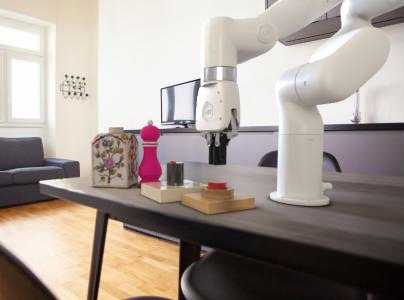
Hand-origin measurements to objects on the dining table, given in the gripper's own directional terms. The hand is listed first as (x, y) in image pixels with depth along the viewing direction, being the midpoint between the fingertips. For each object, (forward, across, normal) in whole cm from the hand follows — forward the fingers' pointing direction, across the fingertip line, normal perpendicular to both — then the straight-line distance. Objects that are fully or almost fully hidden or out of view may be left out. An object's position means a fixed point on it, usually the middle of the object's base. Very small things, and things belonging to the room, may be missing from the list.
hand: (217, 164), depth 64 cm
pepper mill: (+9, -28, -3) cm, 30 cm away
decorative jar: (+9, -36, -11) cm, 39 cm away
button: (+6, 0, 0) cm, 6 cm away
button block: (+9, 0, 0) cm, 9 cm away
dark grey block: (+6, -13, -3) cm, 15 cm away
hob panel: (+9, -13, -3) cm, 16 cm away
